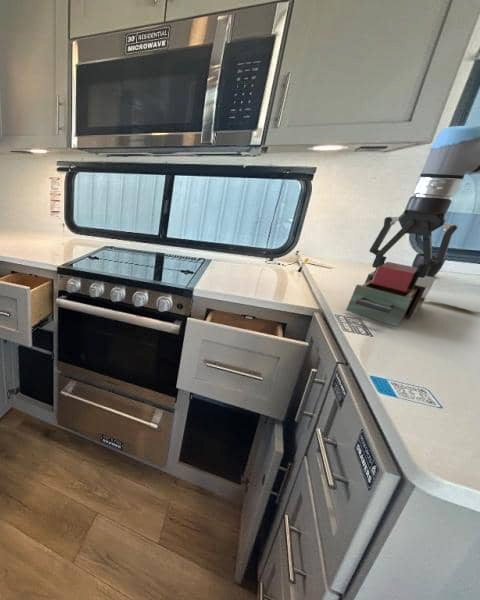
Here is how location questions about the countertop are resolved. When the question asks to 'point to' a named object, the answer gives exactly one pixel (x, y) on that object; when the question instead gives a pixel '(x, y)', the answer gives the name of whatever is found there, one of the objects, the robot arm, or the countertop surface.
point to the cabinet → (423, 287)
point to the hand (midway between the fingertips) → (391, 283)
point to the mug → (433, 269)
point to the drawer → (381, 302)
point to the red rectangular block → (394, 276)
